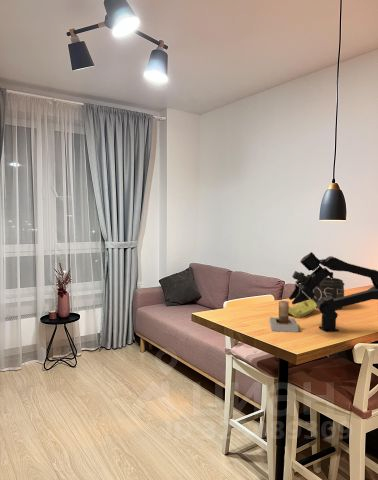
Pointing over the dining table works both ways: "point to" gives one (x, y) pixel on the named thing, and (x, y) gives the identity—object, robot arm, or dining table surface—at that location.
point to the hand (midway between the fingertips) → (290, 301)
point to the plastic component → (302, 308)
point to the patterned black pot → (329, 289)
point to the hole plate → (283, 325)
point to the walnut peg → (283, 311)
